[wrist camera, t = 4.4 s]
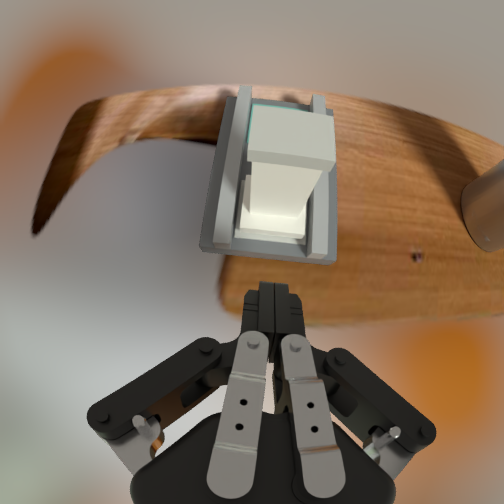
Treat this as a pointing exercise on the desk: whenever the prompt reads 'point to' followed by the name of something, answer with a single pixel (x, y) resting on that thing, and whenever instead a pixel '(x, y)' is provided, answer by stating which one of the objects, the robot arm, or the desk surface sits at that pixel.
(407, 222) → the desk surface
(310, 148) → the switch tab
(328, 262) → the switch panel
